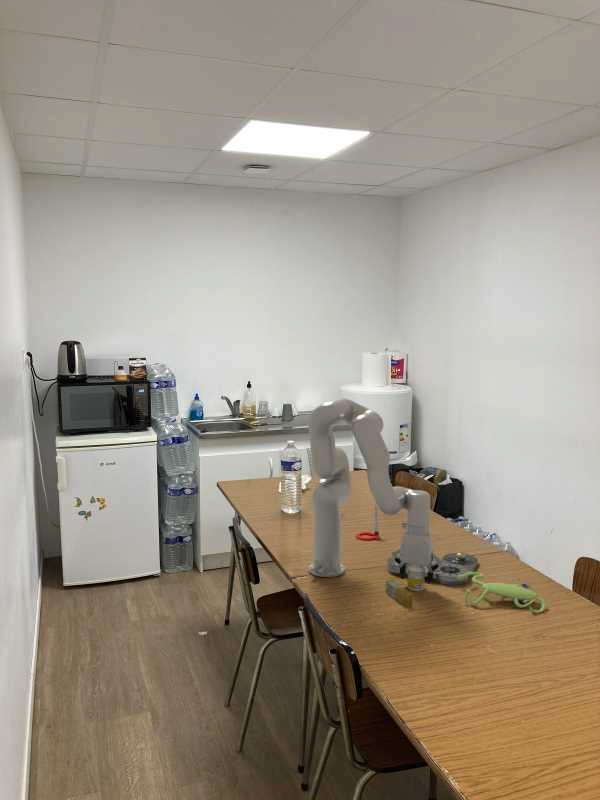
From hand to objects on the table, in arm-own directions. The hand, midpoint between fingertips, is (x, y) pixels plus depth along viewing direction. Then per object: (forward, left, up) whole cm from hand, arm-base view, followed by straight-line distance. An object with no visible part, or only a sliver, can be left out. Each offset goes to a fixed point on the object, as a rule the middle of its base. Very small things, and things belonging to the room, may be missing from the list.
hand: (416, 580), depth 218 cm
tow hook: (+40, +32, -3) cm, 51 cm away
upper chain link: (+13, 0, -3) cm, 13 cm away
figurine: (+4, -25, -3) cm, 26 cm away
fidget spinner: (+21, -8, -3) cm, 23 cm away
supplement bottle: (0, 0, -3) cm, 3 cm away
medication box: (-11, +3, -3) cm, 11 cm away
